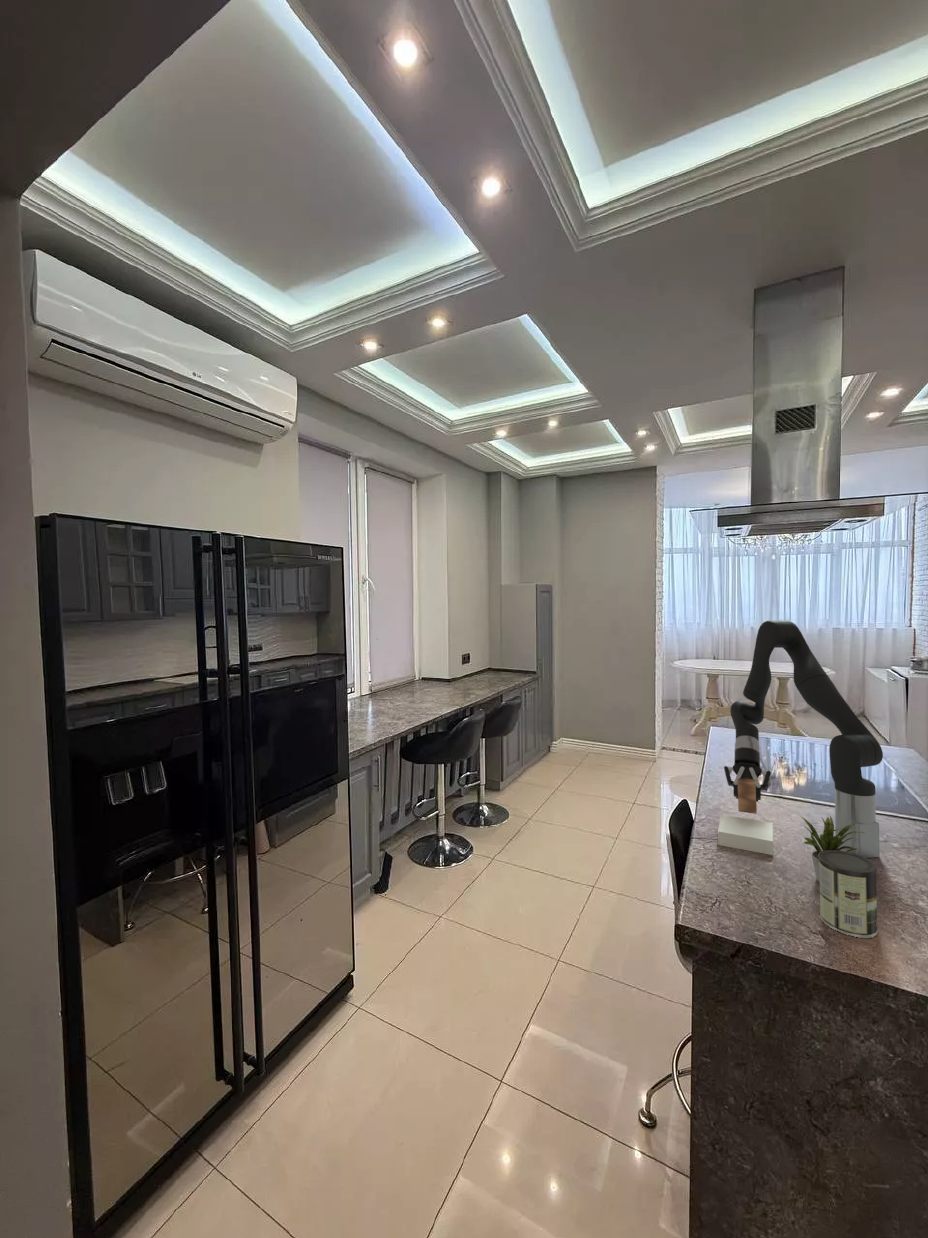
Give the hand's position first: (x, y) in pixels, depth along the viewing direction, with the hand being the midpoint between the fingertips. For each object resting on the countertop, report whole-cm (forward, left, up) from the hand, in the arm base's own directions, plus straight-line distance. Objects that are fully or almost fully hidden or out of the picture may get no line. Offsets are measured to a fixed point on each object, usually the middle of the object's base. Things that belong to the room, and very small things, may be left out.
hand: (747, 798), depth 162 cm
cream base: (-9, +7, -9) cm, 15 cm away
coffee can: (-50, +11, -9) cm, 52 cm away
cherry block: (+1, -1, -4) cm, 5 cm away
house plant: (-35, +1, -9) cm, 36 cm away
